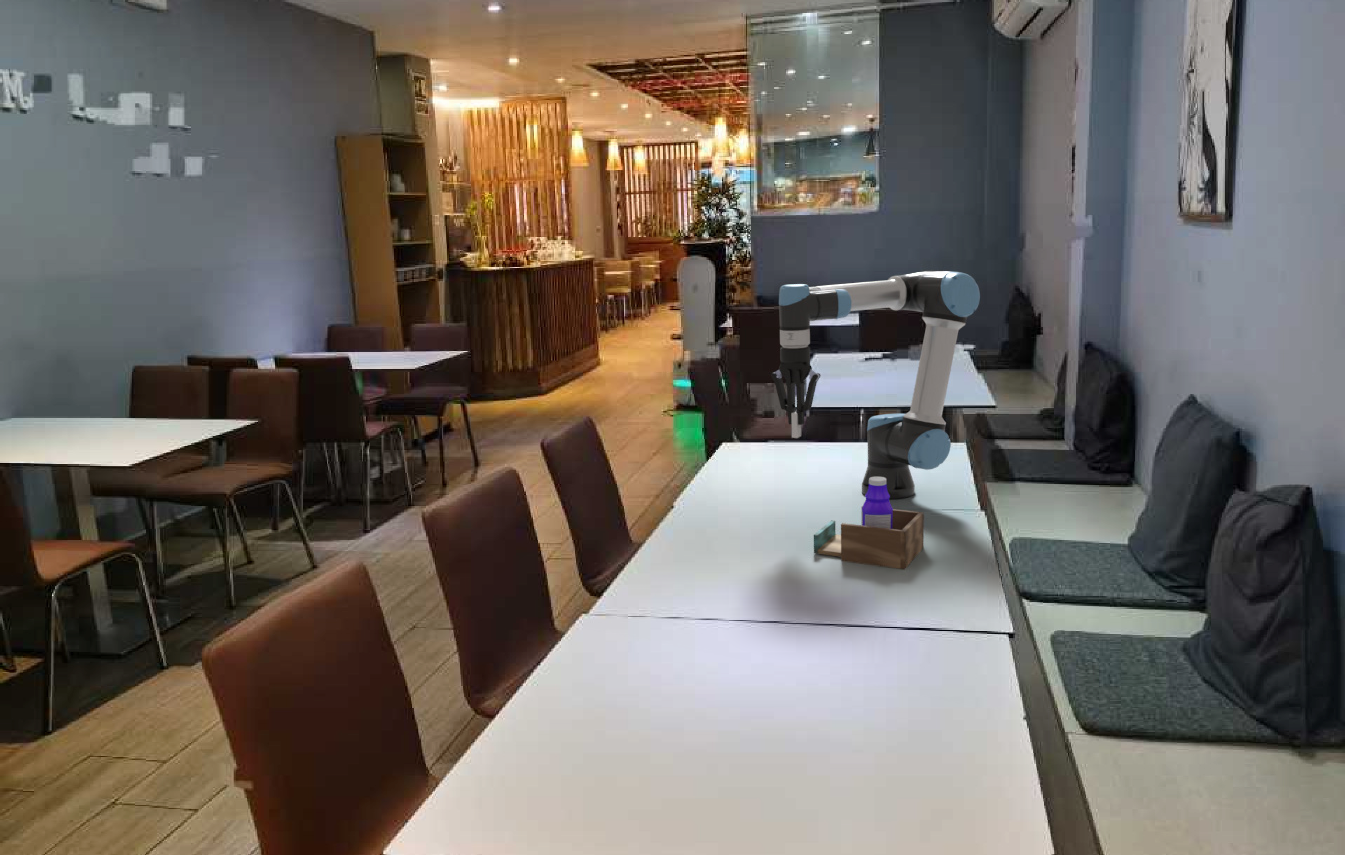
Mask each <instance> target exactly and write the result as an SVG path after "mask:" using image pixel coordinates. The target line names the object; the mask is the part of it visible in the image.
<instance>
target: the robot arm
mask: <svg viewBox="0 0 1345 855" xmlns="http://www.w3.org/2000/svg"><path fill="white" fill-rule="evenodd" d="M980 298H981V294H980V289H979V285H978V284H977V283H976V279H974V278H973V276H971V275H969V274H967V273H964V272H960V271H952V270H951V271H946V270H945V271H944V270H942V271H939V270H937V271H936V270H935V271H934V270H925V271H919V272H912V273H907V274H901V275H892V276H890V277H888V279H887V280H875V281H863V282H854V283H851V282H850V283H841V284H839V283H838V284H829V285H817V286H809V285H808V284H806V283H805V284H804V283H797V284H796V283H795V284H794V283H793V284H783V285H781V286H780V288H779V294H778V305H779V306H778V310H779V312H778V313H779V314H778V315H779V344H780V346H781V347H780V349H779V350H780V351H779V354H780V355H779V358H780V365H779V367H778V370H776V371H774V372H771V374H770V376H771V378H772V380H773V381H774V385H775V389H776V393H777V397H778V401H779V405H780V409H781V410H784V411H786V412H787V419H788V420H787V421H788V424H789V425H791V439H793V438H794V439H799V438H800V437H802V425H804V424H805V412H808V411H809V410H811V409H812V407H813V406H812V405H813V401H814V398H815V397H814V396H815V393H816V388H817V383H818V381H819V380H820V378H821V373H819V372H815V371H814V370H813V367H812V365H811V347H810V346H809V345H810V344H811V332H810V331H811V330H810V326H811V325H810V324H811V322H814V321H825V320H838V319H843V318H846V317H848V316H849V315H850V313H851V312H854V311H855V312H856V311H857V312H858V311H865V310H867V311H868V310H877V309H886V308H887V309H888V308H889V309H890V310H892V311H914V312H920V313H922V316H921V319H922V320H923V322H924V323H925V332H924V336H923V342H922V345H921V346H922V347H921V352H920V357H919V358H920V359H919V363H918V367H917V374H916V379H915V384H914V388H913V394H912V399H911V404H910V410H909V411H908V412H906V413H886V414H878V415H873V416H871V417H870V418H869V419H868V421H867V428H866V431H867V432H866V433H867V468H866V471H865V473H864V476H863V479H862V483H861V493H862V494H863V495H864V496H865V495H866V493H867V491H868V487H869V478H870V477H884V478H886V483H887V484H886V485H887V491H888V493H889V495H890V498H889V500H891V499H892V500H893V499H903V498H909V497H911V496H913V495H914V494H915V483H914V479H913V476H912V473H911V469H910V466H911V467H912V468H915V469H921V470H925V471H928V470H934V469H936V468H938V467H939V466H940V465H942V464H943V463H944V462H945V461H946V460H947V458H948V456H949V454H950V451H951V445H952V444H951V439H950V438H949V437H950V436H949V435H948V433H947V432H946V431H945V430H946V425H947V422H946V421H945V420H944V418H943V411H944V407H945V406H944V404H945V402H946V401H945V400H946V395H947V391H948V390H947V389H948V386H949V380H950V375H951V371H952V365H953V359H954V355H955V348H956V345H957V340H958V334H959V330H961V329H962V328H963V327H964V326H966V323H967V320H968V319H967V318H968V317H970V316H971V315H972V314H974V312H976V311H977V309H978V306H979V305H980V301H981V300H980ZM782 377H783V378H784V379H785V385H786V389H785V385H784V381H783V378H782ZM808 377H809V378H808ZM807 378H808V379H809V382H808V385H807V388H806V389H807V391H806V395H805V385H806V380H807Z"/></svg>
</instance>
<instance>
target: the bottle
mask: <svg viewBox="0 0 1345 855" xmlns="http://www.w3.org/2000/svg"><path fill="white" fill-rule="evenodd" d="M886 484H887V483H886V478H884V477H870V478H869V487H868V491H867V493H866V495H865V494H864V497H865V501H864V502H863V505H862V506H863V507H862V506H861V525H863V526H871V527H880V528H888V529H892V519H893V509H894V508H893V507H892V504H891V502H890V499H889V498H890V495H889V493H888V491H887V485H886Z"/></svg>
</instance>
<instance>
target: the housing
mask: <svg viewBox="0 0 1345 855" xmlns="http://www.w3.org/2000/svg"><path fill="white" fill-rule="evenodd" d="M862 507H863V505H862V506H861V508H862ZM924 515H925V514H924V512H922V511H913V510H905V509H904V510H903V509H896V508H893V519H892V529H888V528H880V527H871V526H863V525H862V524H854V523H853V524H852V523H846V522H842V523H841V524H840V535H841V558H840V561H841V562H848V563H853V564H854V563H855V564H861V565H863V564H864V565H869V566H877V567H885V568H892V569H897V570H899V569H900V570H906V569H907V568H908V566H909V565H910V564H911V563H912V561H914V559H915V558H916V557H918V555H919V554H920V553H921V551H922V550H923V549H924V541H925V540H924V538H925V537H924V536H925V535H924V533H925V532H924V531H925V530H924V529H925V528H924V527H925V526H924V522H925V519H924V518H925V516H924Z"/></svg>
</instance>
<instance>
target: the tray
mask: <svg viewBox="0 0 1345 855" xmlns="http://www.w3.org/2000/svg"><path fill="white" fill-rule="evenodd" d="M813 554H817V555H826V556H834V557H839V558H840V557H841V534H836V520H830V521H829V522H828V523H826V524H825V525H824V526H822V528H820V529H819V530H818V531H817V532H814V534H813Z"/></svg>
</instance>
